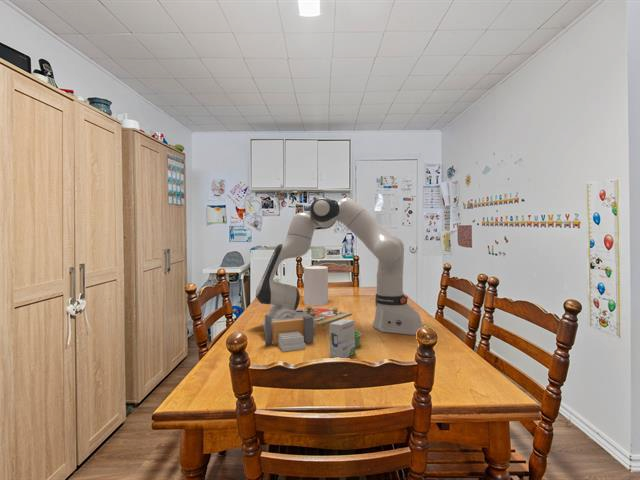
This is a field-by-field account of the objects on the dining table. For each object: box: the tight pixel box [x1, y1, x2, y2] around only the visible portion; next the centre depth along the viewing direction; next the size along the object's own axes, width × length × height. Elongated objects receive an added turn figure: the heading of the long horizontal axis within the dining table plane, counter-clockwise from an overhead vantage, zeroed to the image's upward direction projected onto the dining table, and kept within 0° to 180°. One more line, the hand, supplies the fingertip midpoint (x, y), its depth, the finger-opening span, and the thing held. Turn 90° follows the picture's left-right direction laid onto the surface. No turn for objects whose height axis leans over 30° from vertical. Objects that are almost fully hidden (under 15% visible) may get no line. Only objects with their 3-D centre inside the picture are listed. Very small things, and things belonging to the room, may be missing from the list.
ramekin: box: [355, 330, 362, 349], centre depth 138 cm, size 9×9×4 cm
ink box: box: [328, 318, 356, 359], centre depth 127 cm, size 9×5×12 cm, turn 141°
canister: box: [303, 265, 329, 307], centre depth 209 cm, size 14×14×20 cm
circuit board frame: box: [264, 313, 314, 353], centre depth 138 cm, size 20×20×12 cm
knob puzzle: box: [295, 305, 353, 326], centre depth 181 cm, size 29×30×4 cm
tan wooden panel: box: [272, 319, 304, 345], centre depth 138 cm, size 14×2×8 cm, turn 110°
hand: (295, 329), depth 139 cm, fingers closed, pressing on tan wooden panel
